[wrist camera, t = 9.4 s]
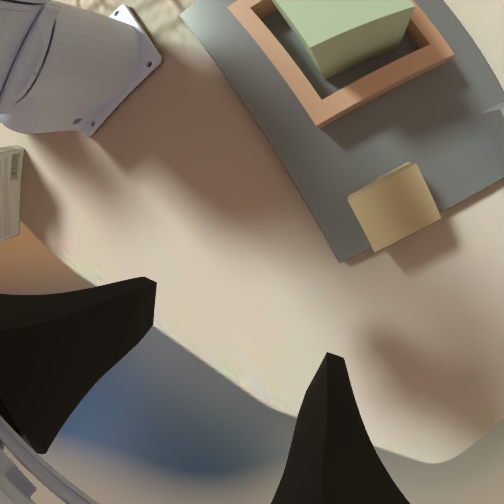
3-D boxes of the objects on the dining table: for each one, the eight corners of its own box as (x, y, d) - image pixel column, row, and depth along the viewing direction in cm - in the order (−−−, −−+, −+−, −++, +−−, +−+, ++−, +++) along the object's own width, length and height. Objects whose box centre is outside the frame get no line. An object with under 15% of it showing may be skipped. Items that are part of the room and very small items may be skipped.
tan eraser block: (372, 238, 17) (374, 252, 15) (348, 193, 17) (347, 200, 15) (430, 208, 15) (441, 218, 13) (407, 161, 15) (416, 163, 13)
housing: (339, 258, 19) (336, 283, 16) (185, 18, 17) (155, 1, 13) (527, 158, 13) (558, 163, 9) (355, -76, 10) (351, -106, 7)
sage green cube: (324, 79, 15) (309, 47, 10) (282, 16, 14) (250, -30, 9) (398, 48, 13) (415, 6, 8) (352, -14, 12) (346, -69, 7)
